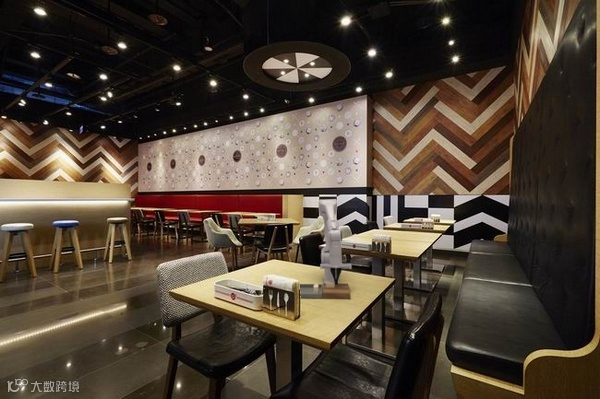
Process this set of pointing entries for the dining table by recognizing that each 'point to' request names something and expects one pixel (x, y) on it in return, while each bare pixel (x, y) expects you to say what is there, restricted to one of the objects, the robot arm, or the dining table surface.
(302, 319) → the dining table surface
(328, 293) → the plate
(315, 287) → the tile
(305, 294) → the tray
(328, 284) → the tile
